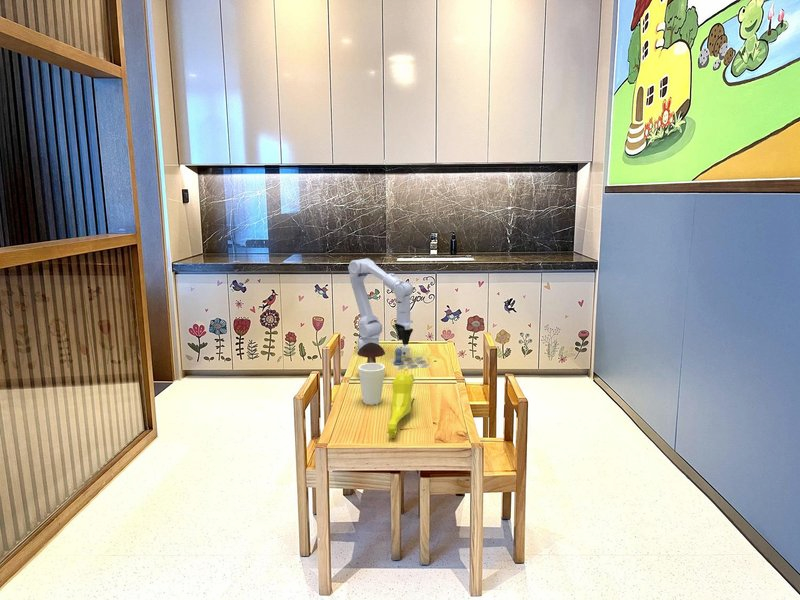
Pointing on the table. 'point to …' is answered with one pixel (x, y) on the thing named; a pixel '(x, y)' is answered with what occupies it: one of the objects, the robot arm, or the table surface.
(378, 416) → the table surface
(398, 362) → the pawn
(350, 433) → the table surface
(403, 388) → the banana
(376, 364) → the foam cup
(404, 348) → the die
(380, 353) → the decorative mushroom
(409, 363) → the board
